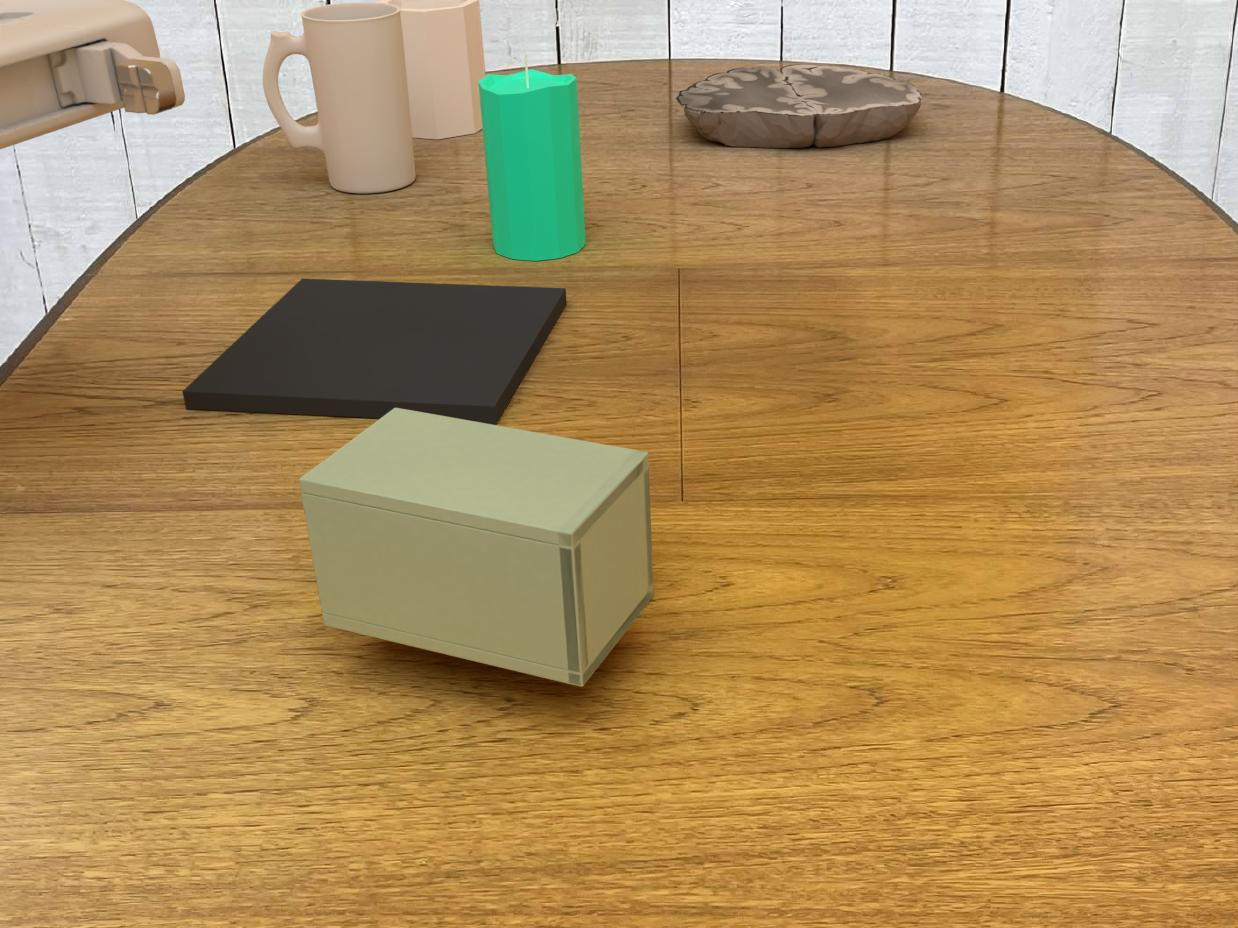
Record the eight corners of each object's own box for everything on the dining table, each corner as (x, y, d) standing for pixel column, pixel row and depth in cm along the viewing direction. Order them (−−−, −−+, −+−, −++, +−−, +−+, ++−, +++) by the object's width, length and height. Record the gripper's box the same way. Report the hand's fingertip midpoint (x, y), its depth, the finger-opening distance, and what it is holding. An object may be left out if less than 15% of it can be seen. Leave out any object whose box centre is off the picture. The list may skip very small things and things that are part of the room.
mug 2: (492, 111, 122) (482, -10, 117) (486, 138, 115) (475, 10, 110) (351, 115, 121) (334, -6, 117) (336, 142, 114) (317, 14, 109)
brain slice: (883, 95, 125) (885, 60, 124) (937, 147, 111) (940, 108, 109) (662, 106, 123) (661, 70, 122) (687, 160, 109) (687, 120, 107)
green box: (323, 625, 54) (297, 478, 51) (413, 545, 60) (394, 406, 56) (582, 687, 51) (571, 533, 48) (654, 596, 56) (649, 451, 53)
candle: (602, 249, 91) (592, 56, 85) (516, 267, 89) (500, 69, 82) (560, 224, 96) (548, 39, 90) (478, 240, 93) (460, 51, 87)
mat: (185, 409, 71) (181, 391, 71) (304, 294, 85) (301, 278, 84) (496, 424, 69) (494, 406, 69) (566, 304, 83) (565, 287, 83)
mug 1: (419, 166, 108) (401, 0, 102) (420, 192, 102) (400, 17, 96) (283, 174, 107) (256, 6, 100) (276, 201, 101) (246, 25, 95)
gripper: (-519, 62, 45) (-222, 98, 41) (-11, -41, 62) (246, -24, 57) (-435, 251, 49) (-150, 305, 44) (27, 106, 65) (273, 134, 60)
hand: (77, 118), depth 50 cm, fingers open, 8 cm apart
